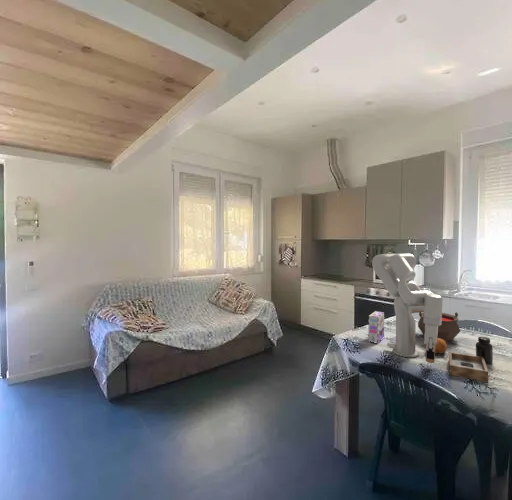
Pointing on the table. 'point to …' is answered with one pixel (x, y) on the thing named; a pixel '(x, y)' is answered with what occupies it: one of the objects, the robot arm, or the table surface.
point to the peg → (430, 359)
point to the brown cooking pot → (444, 326)
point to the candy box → (376, 326)
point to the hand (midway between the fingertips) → (430, 356)
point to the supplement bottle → (484, 349)
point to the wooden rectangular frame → (468, 366)
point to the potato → (440, 346)
